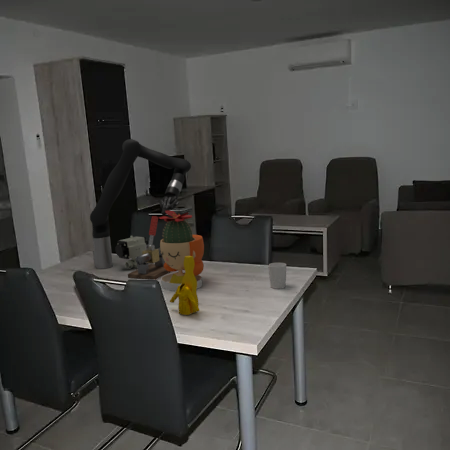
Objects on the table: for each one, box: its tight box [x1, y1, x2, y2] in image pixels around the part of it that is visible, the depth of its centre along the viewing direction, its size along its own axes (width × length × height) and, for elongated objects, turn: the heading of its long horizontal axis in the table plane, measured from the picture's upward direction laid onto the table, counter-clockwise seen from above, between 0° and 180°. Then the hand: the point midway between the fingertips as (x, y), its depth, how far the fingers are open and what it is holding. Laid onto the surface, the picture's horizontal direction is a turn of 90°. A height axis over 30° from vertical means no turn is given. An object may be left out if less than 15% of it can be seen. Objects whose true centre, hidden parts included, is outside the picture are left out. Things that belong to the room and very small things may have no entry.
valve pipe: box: [135, 244, 165, 275], centre depth 231 cm, size 6×20×13 cm, turn 155°
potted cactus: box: [158, 210, 205, 292], centre depth 209 cm, size 22×22×35 cm
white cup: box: [268, 262, 287, 290], centre depth 198 cm, size 8×8×10 cm
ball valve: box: [114, 235, 149, 270], centre depth 245 cm, size 18×8×18 cm, turn 139°
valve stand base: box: [127, 263, 172, 280], centre depth 232 cm, size 16×20×2 cm
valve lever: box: [147, 215, 159, 249], centre depth 232 cm, size 2×2×17 cm
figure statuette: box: [169, 256, 200, 316], centre depth 171 cm, size 18×8×22 cm, turn 44°
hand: (163, 214), depth 241 cm, fingers closed
